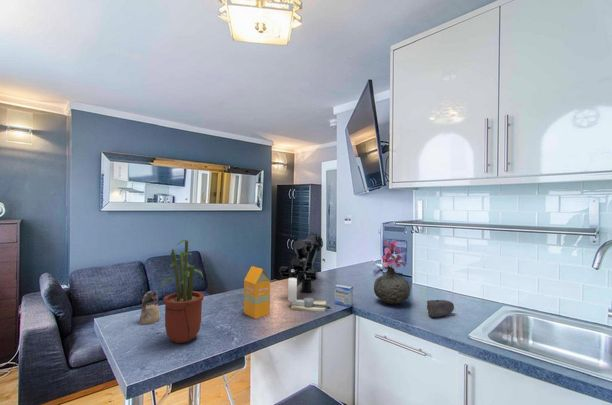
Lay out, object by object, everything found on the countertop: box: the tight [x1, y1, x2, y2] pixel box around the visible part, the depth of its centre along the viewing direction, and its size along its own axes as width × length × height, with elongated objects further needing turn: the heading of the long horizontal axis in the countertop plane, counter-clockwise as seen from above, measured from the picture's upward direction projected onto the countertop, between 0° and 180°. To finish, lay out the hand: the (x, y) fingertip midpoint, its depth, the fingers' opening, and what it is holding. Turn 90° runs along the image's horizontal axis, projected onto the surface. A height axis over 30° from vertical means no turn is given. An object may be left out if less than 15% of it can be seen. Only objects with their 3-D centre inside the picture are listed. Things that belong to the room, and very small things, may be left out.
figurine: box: [139, 290, 161, 325], centre depth 117 cm, size 7×7×12 cm
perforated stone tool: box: [426, 299, 455, 318], centre depth 128 cm, size 15×5×7 cm, turn 109°
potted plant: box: [155, 239, 205, 344], centre depth 103 cm, size 17×16×35 cm
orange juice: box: [243, 265, 271, 319], centre depth 126 cm, size 8×9×20 cm
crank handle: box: [287, 277, 329, 309], centre depth 134 cm, size 19×4×12 cm, turn 75°
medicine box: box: [334, 284, 354, 308], centre depth 140 cm, size 8×4×9 cm, turn 62°
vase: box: [373, 240, 411, 306], centre depth 143 cm, size 17×17×30 cm
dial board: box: [290, 298, 333, 313], centre depth 136 cm, size 12×19×1 cm, turn 84°
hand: (294, 288), depth 139 cm, fingers closed
